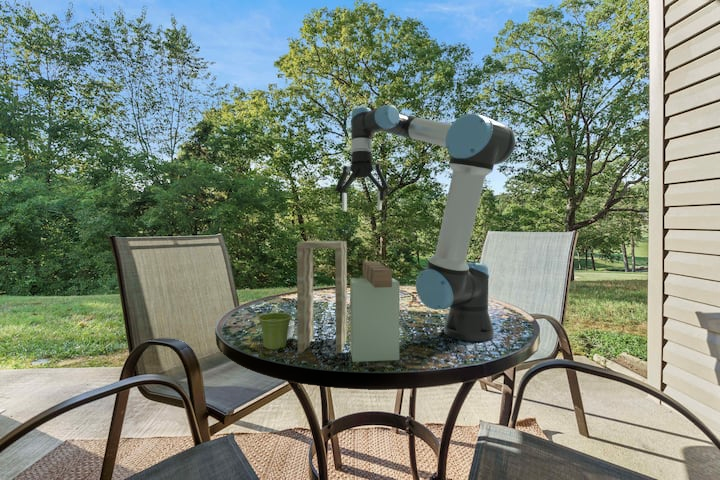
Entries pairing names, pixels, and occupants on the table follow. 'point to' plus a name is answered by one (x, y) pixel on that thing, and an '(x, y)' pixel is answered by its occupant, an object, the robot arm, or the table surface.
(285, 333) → the plant pot
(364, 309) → the block
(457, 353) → the table surface
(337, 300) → the bridge
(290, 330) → the ramekin
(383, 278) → the rail
